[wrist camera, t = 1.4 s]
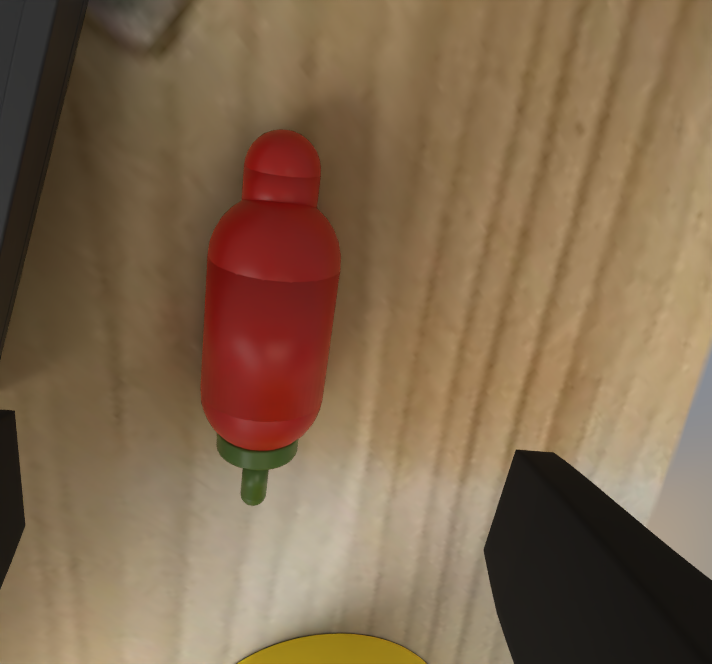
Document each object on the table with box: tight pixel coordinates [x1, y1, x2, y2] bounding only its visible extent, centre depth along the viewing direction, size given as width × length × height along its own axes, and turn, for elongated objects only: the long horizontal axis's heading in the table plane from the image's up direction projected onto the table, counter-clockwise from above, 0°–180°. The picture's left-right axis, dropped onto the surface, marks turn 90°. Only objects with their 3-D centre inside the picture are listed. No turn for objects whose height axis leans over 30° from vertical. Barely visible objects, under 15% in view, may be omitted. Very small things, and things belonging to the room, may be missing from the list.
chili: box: [201, 129, 341, 506], centre depth 16 cm, size 10×3×3 cm, turn 172°
